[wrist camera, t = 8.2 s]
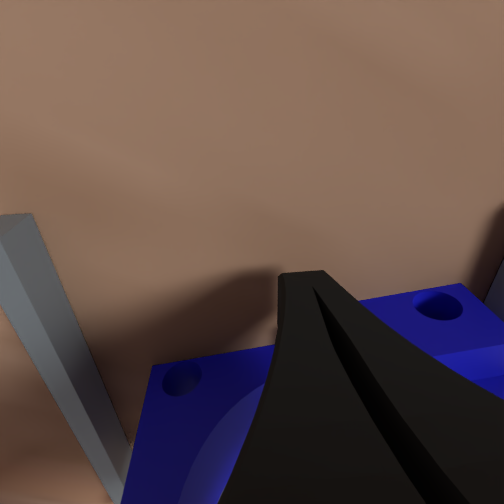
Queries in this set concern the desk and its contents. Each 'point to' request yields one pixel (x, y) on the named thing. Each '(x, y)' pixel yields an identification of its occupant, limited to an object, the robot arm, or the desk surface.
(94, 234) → the desk surface
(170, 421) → the cable clip
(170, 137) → the desk surface
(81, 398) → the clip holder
